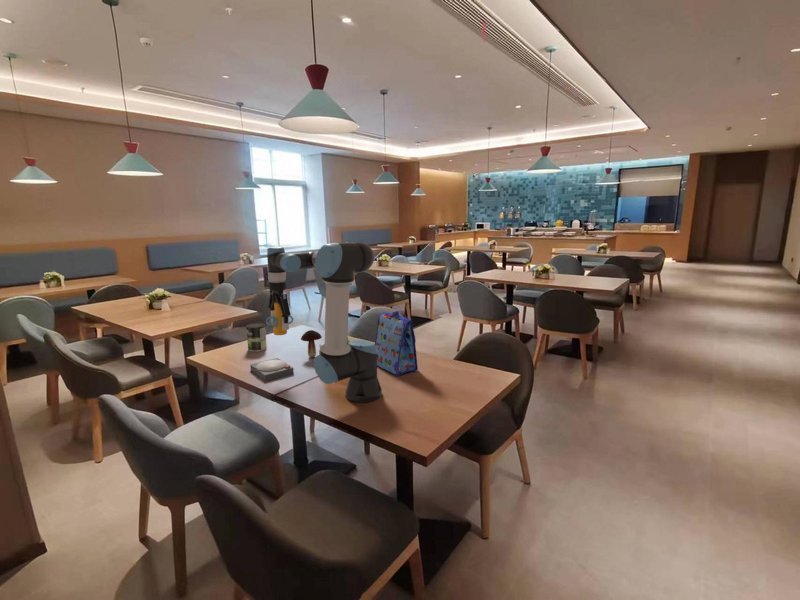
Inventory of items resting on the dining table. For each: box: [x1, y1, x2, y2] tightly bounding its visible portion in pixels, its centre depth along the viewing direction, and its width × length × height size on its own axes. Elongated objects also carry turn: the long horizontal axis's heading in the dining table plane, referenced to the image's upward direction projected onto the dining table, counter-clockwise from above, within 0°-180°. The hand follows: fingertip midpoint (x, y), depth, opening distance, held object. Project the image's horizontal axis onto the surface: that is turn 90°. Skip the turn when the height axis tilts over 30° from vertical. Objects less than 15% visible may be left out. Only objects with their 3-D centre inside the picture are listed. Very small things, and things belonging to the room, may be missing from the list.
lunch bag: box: [374, 310, 419, 377], centre depth 196 cm, size 22×14×29 cm, turn 37°
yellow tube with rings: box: [265, 302, 294, 336], centre depth 185 cm, size 12×10×15 cm
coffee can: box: [245, 322, 268, 353], centre depth 226 cm, size 10×10×14 cm
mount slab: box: [249, 357, 295, 382], centre depth 193 cm, size 18×14×4 cm
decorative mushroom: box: [300, 329, 323, 358], centre depth 212 cm, size 11×11×15 cm
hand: (279, 326), depth 186 cm, fingers closed on yellow tube with rings, 12 cm apart
